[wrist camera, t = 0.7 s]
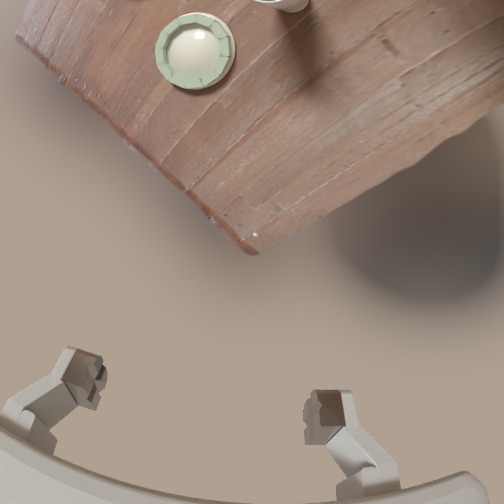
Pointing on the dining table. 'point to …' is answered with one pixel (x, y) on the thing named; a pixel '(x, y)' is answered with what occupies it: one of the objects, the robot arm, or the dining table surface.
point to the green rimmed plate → (195, 50)
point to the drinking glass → (284, 4)
